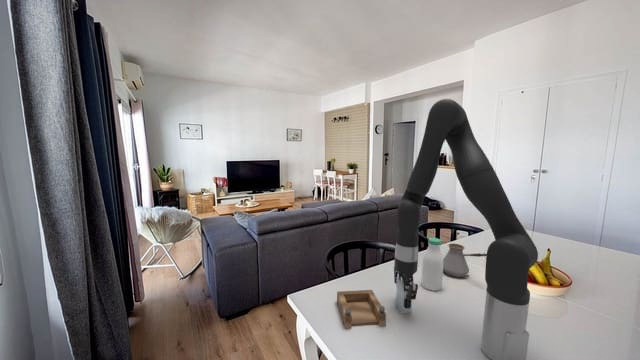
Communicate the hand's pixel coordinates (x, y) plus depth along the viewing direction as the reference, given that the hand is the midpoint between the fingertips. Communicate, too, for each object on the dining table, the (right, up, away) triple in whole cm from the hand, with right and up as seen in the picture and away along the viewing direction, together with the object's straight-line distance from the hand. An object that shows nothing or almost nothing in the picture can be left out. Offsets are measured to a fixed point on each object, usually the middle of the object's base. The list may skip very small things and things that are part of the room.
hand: (403, 302), depth 90 cm
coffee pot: (+34, 0, +22) cm, 40 cm away
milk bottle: (+16, -1, +15) cm, 22 cm away
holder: (-16, -2, -3) cm, 16 cm away
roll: (0, -2, 0) cm, 2 cm away
